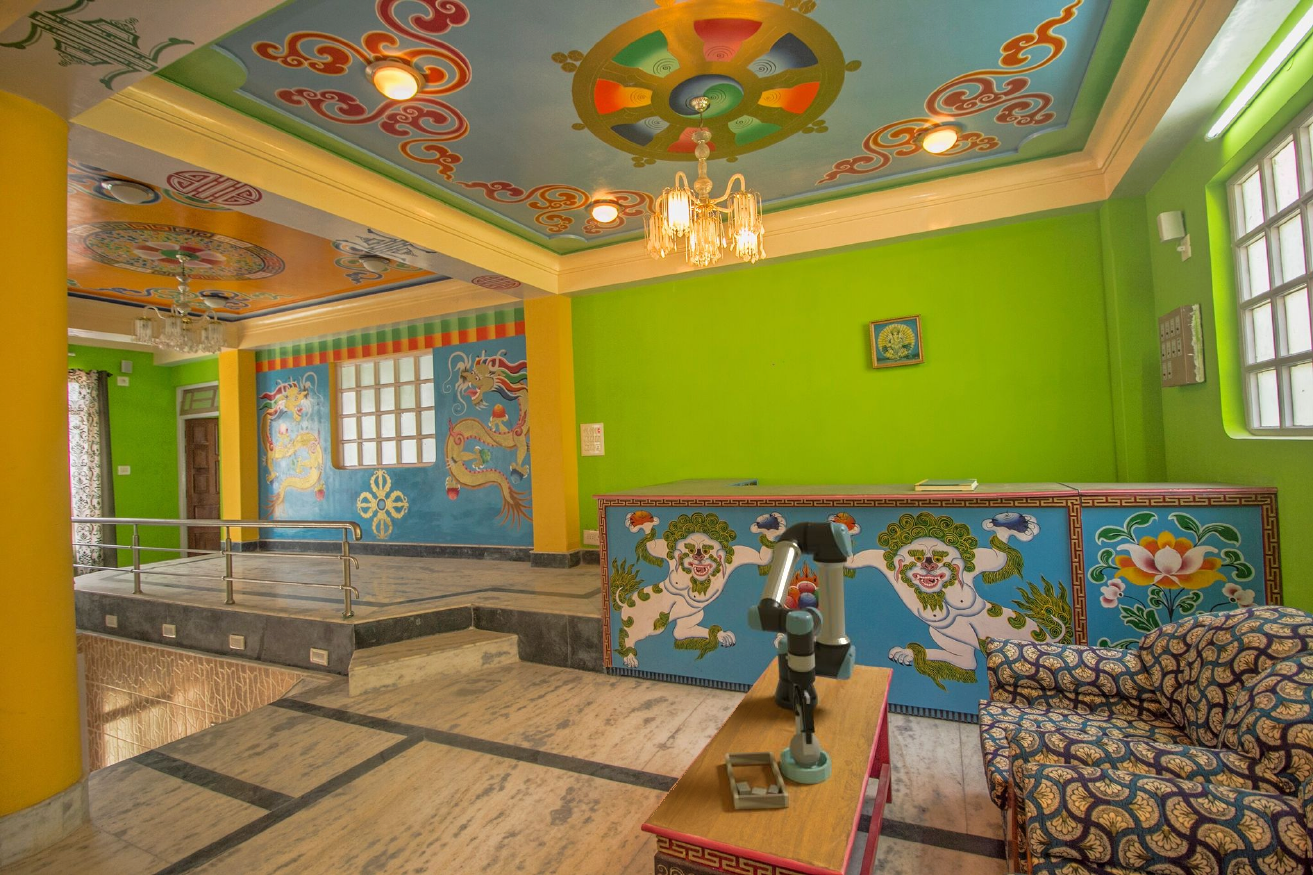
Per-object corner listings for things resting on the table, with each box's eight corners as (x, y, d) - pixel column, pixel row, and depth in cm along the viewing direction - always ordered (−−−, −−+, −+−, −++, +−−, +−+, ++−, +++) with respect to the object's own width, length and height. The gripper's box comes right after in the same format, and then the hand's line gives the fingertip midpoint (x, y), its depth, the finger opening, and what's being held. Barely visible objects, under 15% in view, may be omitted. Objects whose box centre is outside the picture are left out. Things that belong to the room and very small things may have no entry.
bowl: (776, 757, 180) (776, 745, 180) (823, 755, 180) (822, 743, 180) (786, 784, 166) (786, 771, 166) (837, 782, 166) (836, 769, 166)
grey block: (736, 792, 164) (736, 782, 164) (747, 790, 165) (746, 781, 165) (740, 800, 160) (739, 791, 160) (751, 799, 161) (750, 790, 161)
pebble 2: (771, 792, 163) (771, 784, 163) (780, 794, 162) (780, 786, 162) (768, 799, 160) (767, 791, 160) (777, 801, 159) (777, 793, 159)
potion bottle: (822, 754, 176) (819, 693, 176) (819, 771, 168) (817, 706, 168) (791, 750, 179) (789, 690, 179) (788, 766, 171) (785, 703, 171)
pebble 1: (752, 801, 160) (751, 792, 160) (754, 795, 162) (753, 786, 162) (765, 804, 158) (764, 795, 158) (767, 798, 161) (766, 789, 161)
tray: (725, 763, 178) (725, 753, 178) (772, 761, 178) (772, 751, 178) (735, 809, 156) (734, 797, 156) (789, 807, 156) (788, 795, 156)
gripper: (780, 654, 184) (784, 729, 184) (796, 682, 163) (800, 766, 163) (805, 653, 184) (808, 727, 184) (824, 681, 163) (828, 765, 163)
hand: (804, 745), depth 173 cm, fingers closed on potion bottle, 8 cm apart
